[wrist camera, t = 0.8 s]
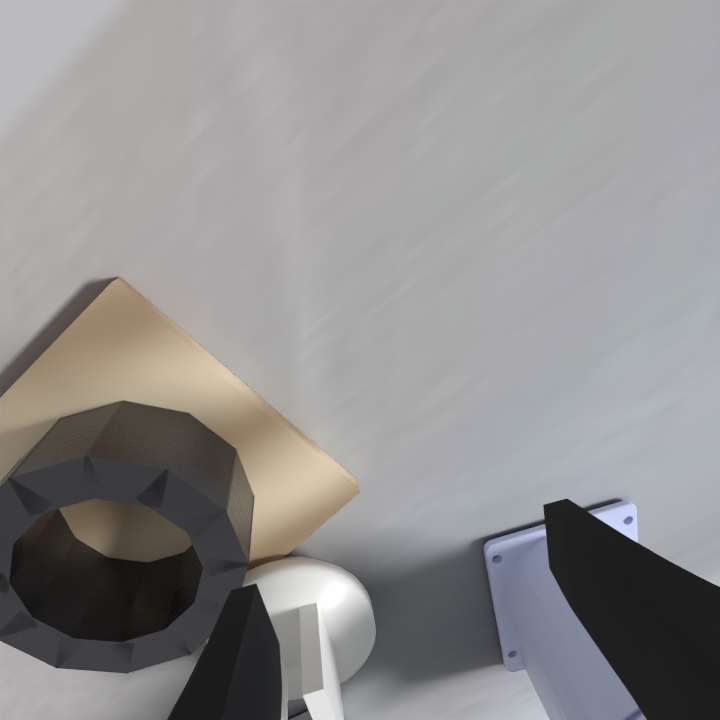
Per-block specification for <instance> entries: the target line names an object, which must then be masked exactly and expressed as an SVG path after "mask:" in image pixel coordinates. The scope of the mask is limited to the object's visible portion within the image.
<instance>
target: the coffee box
mask: <svg viewBox="0 0 720 720" xmlns="http://www.w3.org/2000/svg"><path fill="white" fill-rule="evenodd" d="M289 720H313V719H312V717H311V714H310V712H309V711H306V712H304V713H302V714H300V715H298V716H296V717H294V718H291V719H289ZM344 720H345V719H344Z"/></svg>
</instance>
